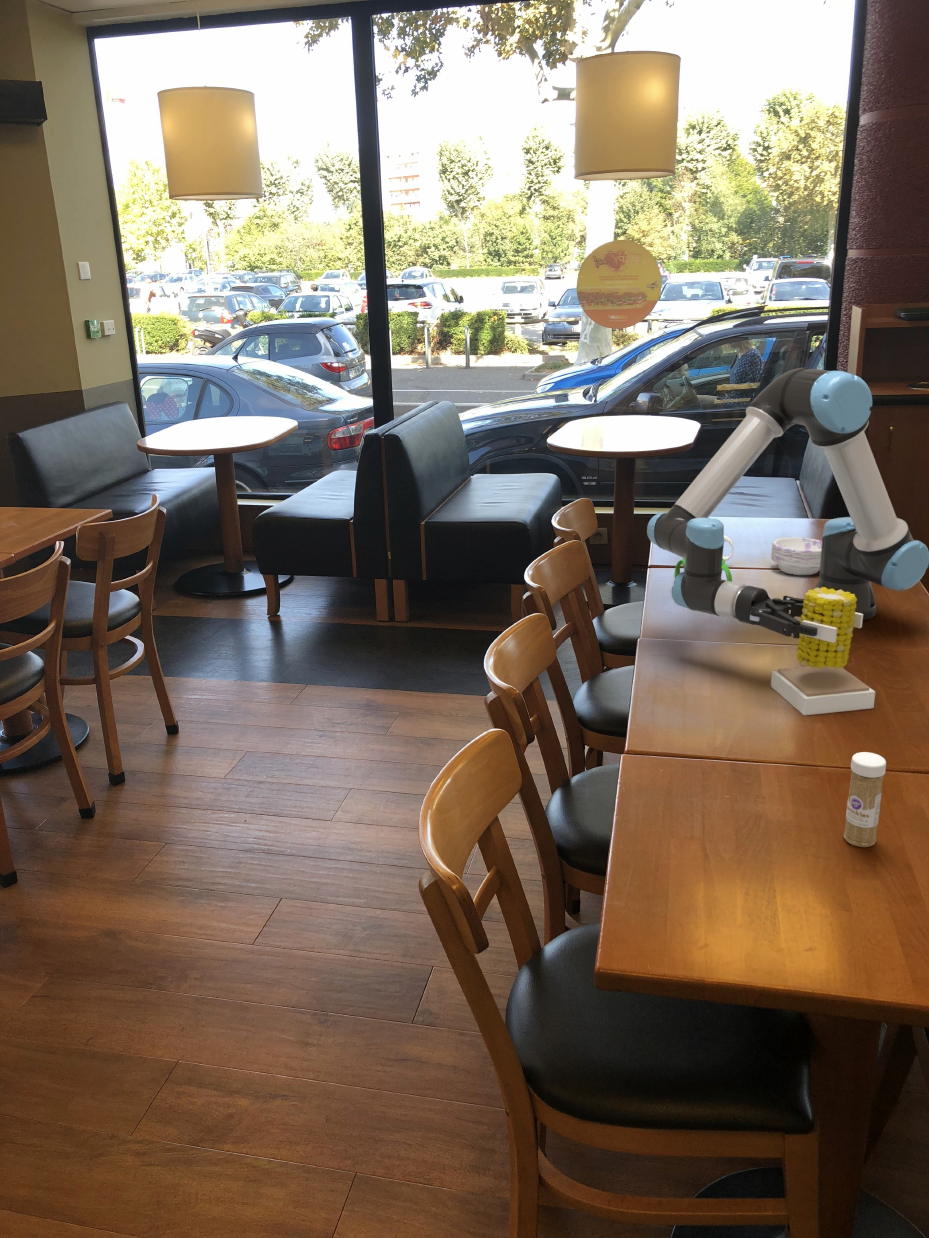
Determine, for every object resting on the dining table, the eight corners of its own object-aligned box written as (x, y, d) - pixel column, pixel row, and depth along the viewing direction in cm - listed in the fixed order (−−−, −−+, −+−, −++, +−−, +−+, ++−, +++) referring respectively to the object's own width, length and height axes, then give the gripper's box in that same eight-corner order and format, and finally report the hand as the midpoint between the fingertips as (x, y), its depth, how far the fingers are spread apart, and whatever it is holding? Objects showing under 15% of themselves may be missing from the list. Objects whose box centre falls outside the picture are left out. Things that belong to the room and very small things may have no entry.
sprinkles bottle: (838, 841, 142) (847, 759, 138) (849, 828, 145) (858, 747, 141) (870, 852, 139) (880, 768, 135) (881, 838, 143) (891, 756, 138)
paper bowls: (834, 567, 270) (836, 539, 267) (820, 581, 258) (823, 553, 255) (778, 560, 278) (780, 533, 275) (763, 574, 266) (765, 546, 263)
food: (789, 672, 187) (814, 660, 193) (848, 674, 178) (872, 661, 185) (780, 594, 185) (806, 585, 191) (839, 593, 176) (864, 583, 183)
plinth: (836, 679, 197) (837, 661, 196) (873, 708, 184) (875, 688, 183) (770, 686, 195) (772, 668, 194) (803, 715, 182) (805, 695, 181)
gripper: (770, 607, 205) (873, 631, 190) (711, 634, 191) (817, 663, 175) (773, 573, 203) (877, 595, 187) (713, 598, 188) (821, 624, 173)
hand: (848, 628), depth 181 cm, fingers closed on food, 10 cm apart
